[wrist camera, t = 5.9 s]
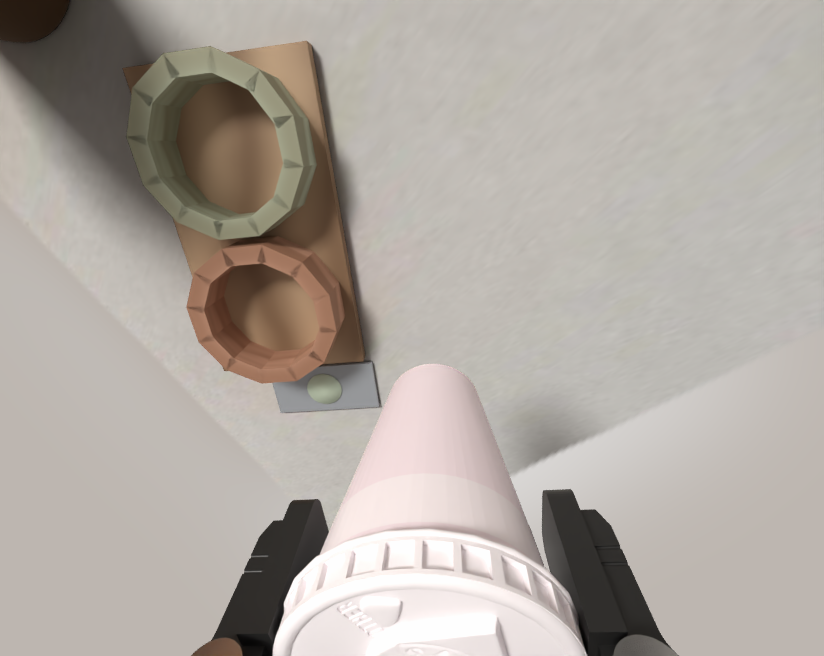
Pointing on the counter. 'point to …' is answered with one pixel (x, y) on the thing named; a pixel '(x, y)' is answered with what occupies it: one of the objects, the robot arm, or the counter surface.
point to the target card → (330, 389)
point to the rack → (250, 204)
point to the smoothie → (429, 545)
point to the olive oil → (30, 18)
